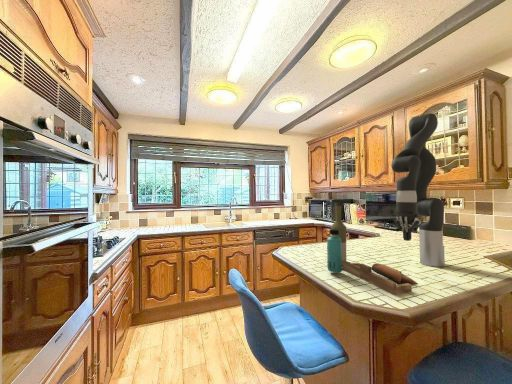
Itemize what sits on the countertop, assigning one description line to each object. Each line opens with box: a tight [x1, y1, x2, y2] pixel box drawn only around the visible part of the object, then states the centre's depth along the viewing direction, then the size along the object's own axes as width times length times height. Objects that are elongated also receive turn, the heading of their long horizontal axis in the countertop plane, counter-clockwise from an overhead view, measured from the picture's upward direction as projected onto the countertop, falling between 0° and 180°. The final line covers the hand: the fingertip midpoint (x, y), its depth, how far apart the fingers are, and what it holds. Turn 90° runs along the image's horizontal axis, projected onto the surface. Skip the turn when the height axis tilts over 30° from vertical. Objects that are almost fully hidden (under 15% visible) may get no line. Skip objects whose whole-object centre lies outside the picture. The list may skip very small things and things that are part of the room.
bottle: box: [330, 205, 347, 269], centre depth 108 cm, size 7×7×30 cm
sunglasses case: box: [371, 262, 419, 285], centre depth 93 cm, size 18×7×7 cm
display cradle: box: [342, 260, 413, 296], centre depth 91 cm, size 8×28×6 cm, turn 14°
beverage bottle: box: [326, 228, 343, 274], centre depth 98 cm, size 6×7×20 cm
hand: (407, 240), depth 96 cm, fingers closed
